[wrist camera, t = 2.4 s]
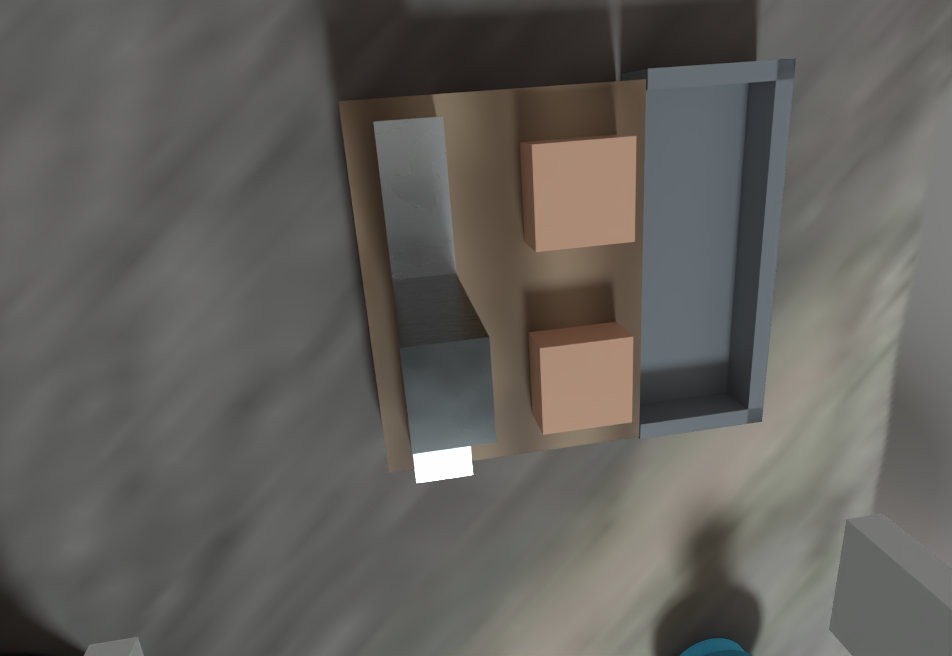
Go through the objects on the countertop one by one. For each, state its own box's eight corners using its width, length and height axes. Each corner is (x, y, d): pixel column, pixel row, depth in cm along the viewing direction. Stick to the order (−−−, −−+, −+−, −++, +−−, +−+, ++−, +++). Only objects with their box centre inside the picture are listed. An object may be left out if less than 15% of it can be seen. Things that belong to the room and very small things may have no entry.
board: (387, 438, 39) (388, 473, 35) (342, 102, 32) (338, 101, 29) (614, 407, 41) (639, 436, 37) (616, 83, 34) (646, 79, 30)
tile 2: (524, 242, 32) (536, 252, 30) (519, 142, 30) (531, 144, 28) (616, 232, 33) (634, 241, 30) (616, 134, 31) (636, 135, 29)
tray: (619, 413, 41) (640, 439, 38) (621, 73, 34) (648, 68, 31) (731, 397, 42) (761, 421, 39) (756, 63, 35) (795, 58, 32)
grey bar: (413, 453, 35) (431, 611, 24) (373, 121, 29) (372, 123, 18) (465, 446, 36) (507, 598, 24) (436, 116, 30) (474, 115, 18)
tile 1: (532, 413, 36) (543, 434, 33) (528, 332, 34) (539, 348, 32) (615, 402, 36) (631, 422, 34) (615, 321, 34) (633, 336, 32)
